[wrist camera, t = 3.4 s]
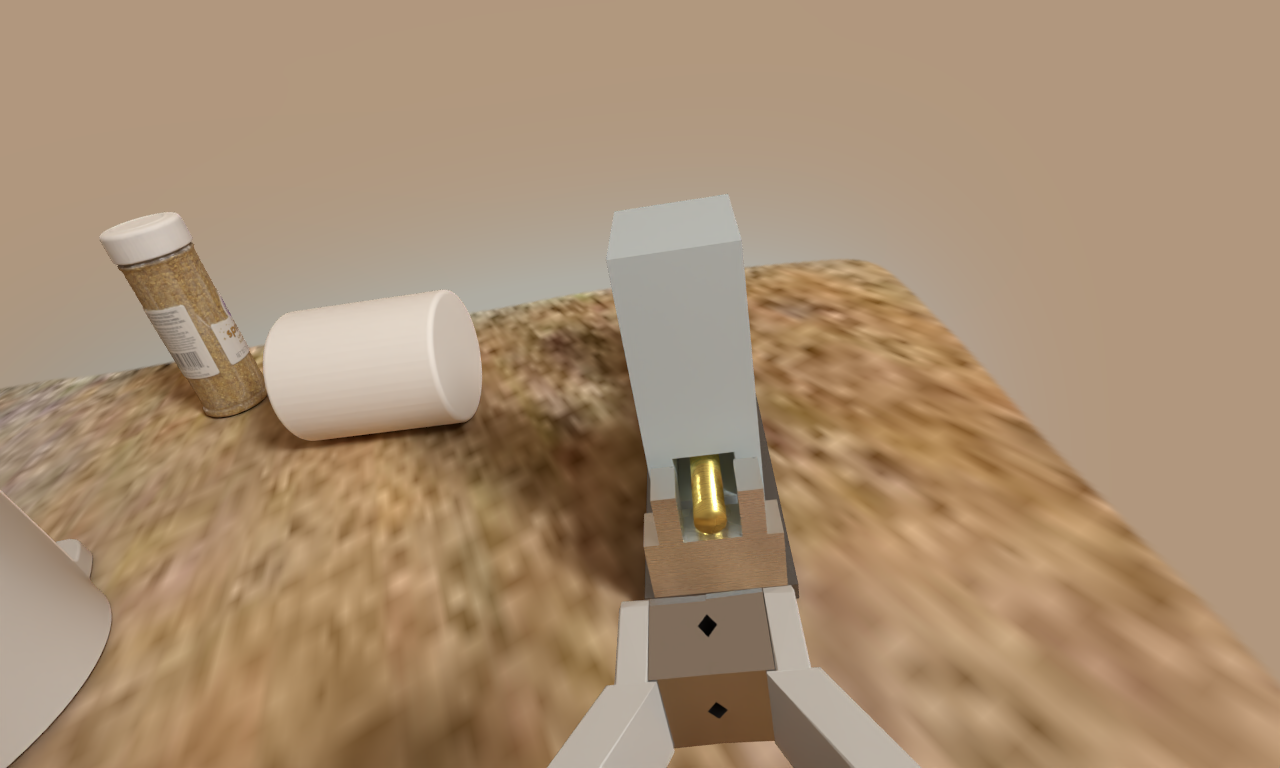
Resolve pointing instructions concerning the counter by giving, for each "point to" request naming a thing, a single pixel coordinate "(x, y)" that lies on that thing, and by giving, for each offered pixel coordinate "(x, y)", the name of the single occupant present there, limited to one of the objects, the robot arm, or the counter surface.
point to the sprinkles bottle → (187, 311)
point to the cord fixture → (716, 531)
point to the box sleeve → (686, 335)
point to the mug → (374, 366)
